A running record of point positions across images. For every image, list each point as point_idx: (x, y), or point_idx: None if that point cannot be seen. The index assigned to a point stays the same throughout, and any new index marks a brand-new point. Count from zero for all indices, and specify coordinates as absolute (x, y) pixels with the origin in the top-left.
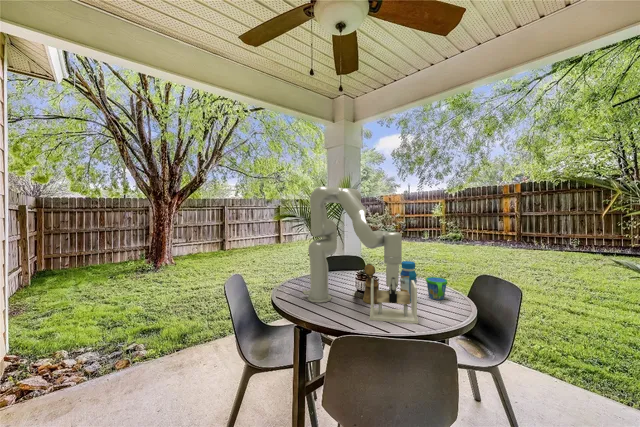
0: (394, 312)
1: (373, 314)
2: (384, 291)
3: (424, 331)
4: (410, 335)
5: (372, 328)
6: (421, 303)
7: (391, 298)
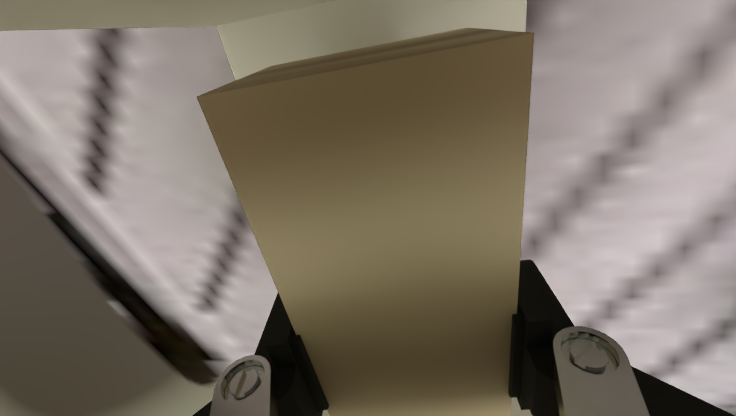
0: None
1: (303, 9)
2: (428, 245)
3: (241, 345)
4: (146, 295)
5: (61, 58)
6: (717, 336)
7: (272, 313)
